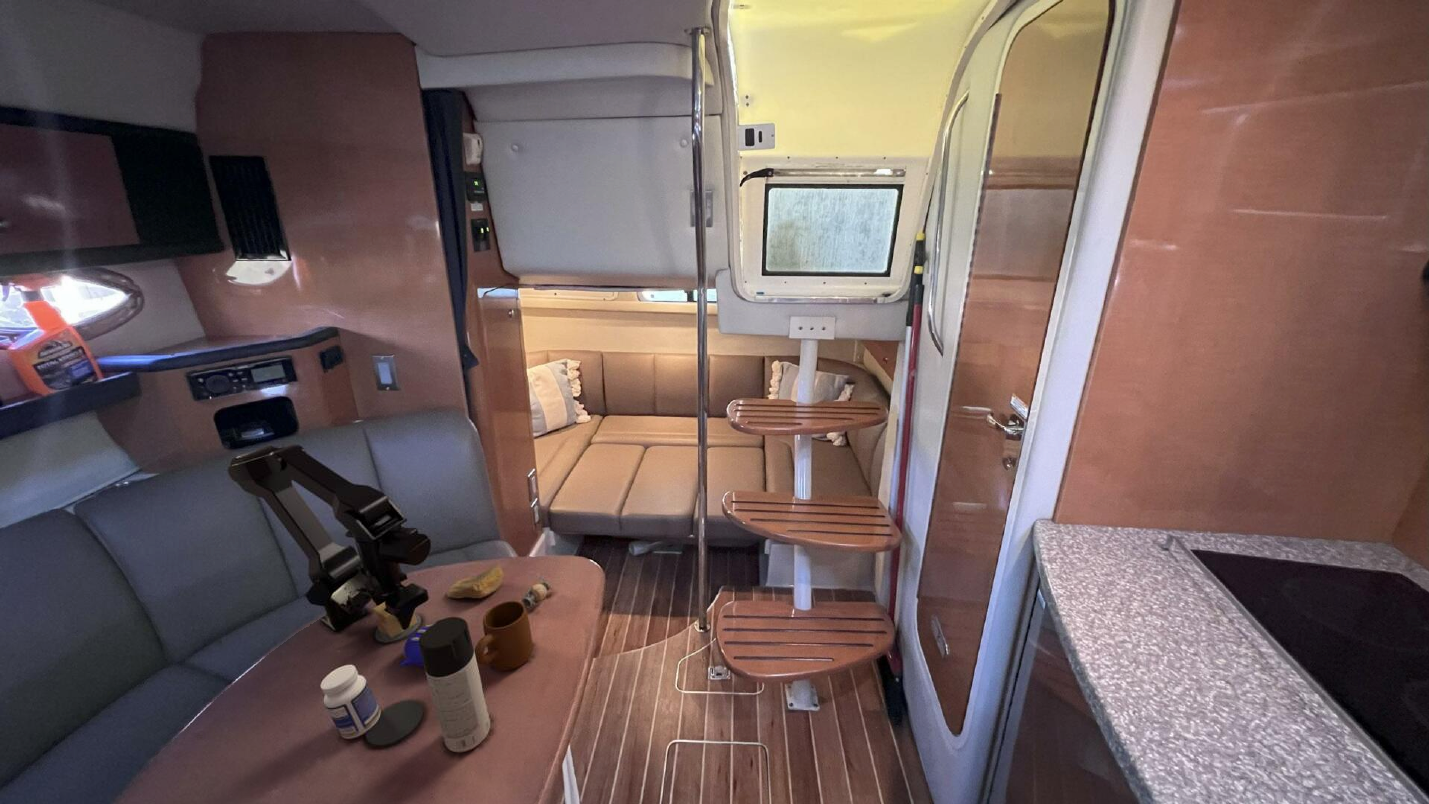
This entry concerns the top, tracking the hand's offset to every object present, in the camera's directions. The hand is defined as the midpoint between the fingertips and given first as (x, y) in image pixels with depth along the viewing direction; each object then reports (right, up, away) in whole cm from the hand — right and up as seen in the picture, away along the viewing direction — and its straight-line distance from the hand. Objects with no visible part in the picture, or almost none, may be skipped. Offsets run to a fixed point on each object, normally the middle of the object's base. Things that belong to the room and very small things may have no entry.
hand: (397, 622), depth 106 cm
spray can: (+25, -8, -23) cm, 35 cm away
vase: (+28, +6, +6) cm, 30 cm away
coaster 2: (+12, -8, -21) cm, 25 cm away
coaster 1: (0, -1, 0) cm, 1 cm away
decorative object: (+11, -4, -8) cm, 14 cm away
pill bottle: (+7, -8, -21) cm, 23 cm away
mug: (+26, -4, -10) cm, 28 cm away
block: (0, -1, 0) cm, 1 cm away
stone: (+16, +5, +8) cm, 18 cm away
